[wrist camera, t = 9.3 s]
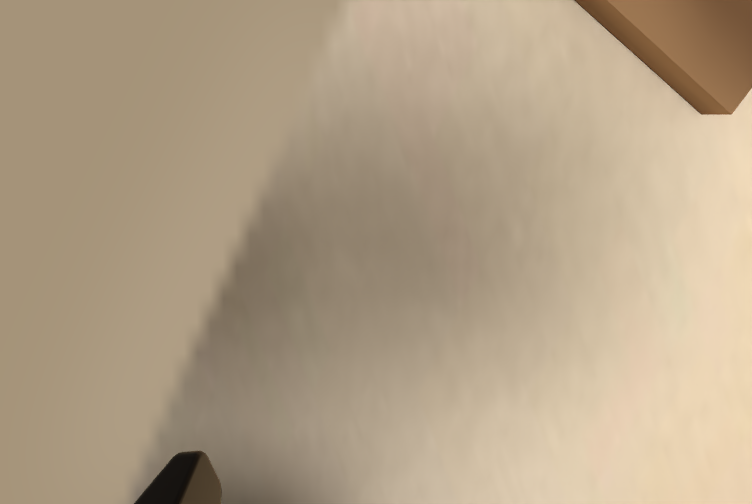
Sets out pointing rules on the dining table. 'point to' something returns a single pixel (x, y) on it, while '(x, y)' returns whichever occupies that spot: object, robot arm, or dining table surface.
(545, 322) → the dining table surface
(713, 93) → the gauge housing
